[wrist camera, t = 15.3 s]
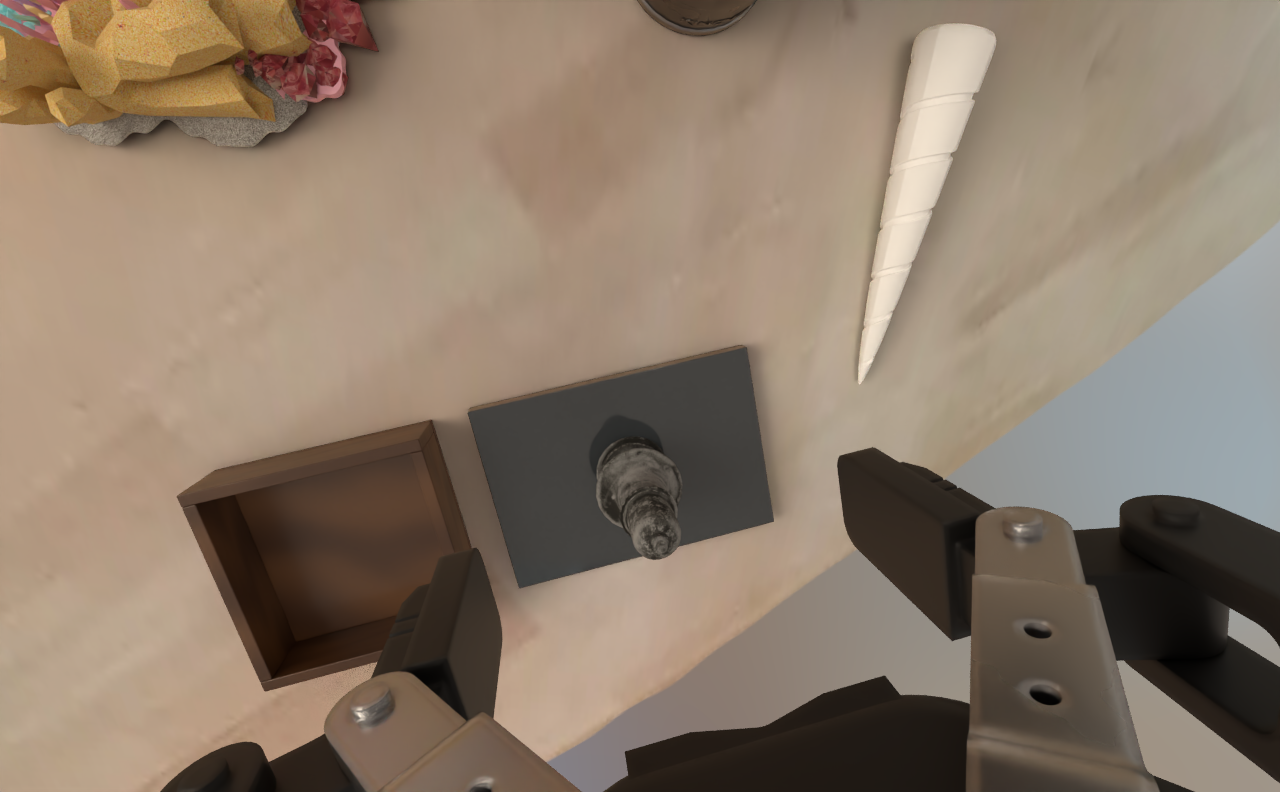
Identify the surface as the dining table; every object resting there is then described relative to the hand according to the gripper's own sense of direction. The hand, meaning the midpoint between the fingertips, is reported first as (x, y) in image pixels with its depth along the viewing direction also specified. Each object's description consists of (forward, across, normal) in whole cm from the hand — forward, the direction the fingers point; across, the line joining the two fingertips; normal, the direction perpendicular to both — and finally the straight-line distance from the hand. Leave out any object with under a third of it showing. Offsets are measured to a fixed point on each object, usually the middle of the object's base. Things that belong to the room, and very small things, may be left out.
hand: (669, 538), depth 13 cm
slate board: (+30, -1, +10) cm, 32 cm away
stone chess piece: (+29, -1, +10) cm, 31 cm away
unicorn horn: (+30, -24, -4) cm, 39 cm away
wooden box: (+30, +19, +10) cm, 37 cm away
